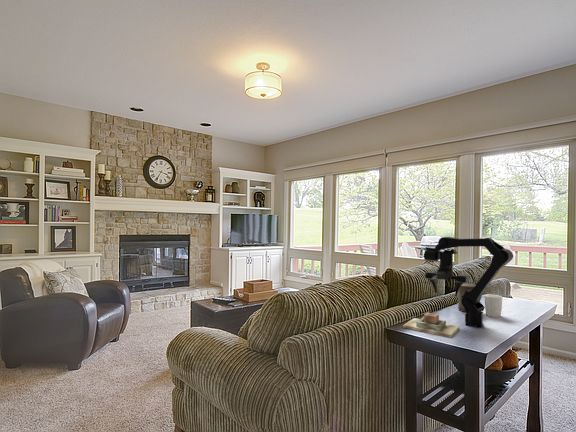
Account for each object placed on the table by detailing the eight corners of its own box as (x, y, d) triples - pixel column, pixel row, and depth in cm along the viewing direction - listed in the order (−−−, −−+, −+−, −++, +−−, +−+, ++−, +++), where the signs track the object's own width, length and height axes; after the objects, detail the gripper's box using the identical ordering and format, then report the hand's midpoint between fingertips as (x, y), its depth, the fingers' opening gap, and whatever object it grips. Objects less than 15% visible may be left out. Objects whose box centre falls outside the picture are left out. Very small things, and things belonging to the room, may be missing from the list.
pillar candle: (481, 313, 182) (481, 284, 183) (460, 312, 184) (461, 283, 184) (475, 308, 192) (475, 281, 192) (455, 307, 194) (456, 280, 194)
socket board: (459, 329, 157) (459, 322, 157) (450, 337, 146) (451, 329, 146) (414, 320, 169) (414, 313, 169) (403, 327, 158) (403, 320, 158)
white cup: (480, 314, 181) (480, 294, 181) (491, 312, 184) (492, 293, 184) (494, 318, 174) (494, 298, 174) (506, 316, 177) (506, 296, 177)
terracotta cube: (438, 325, 158) (438, 314, 158) (435, 328, 154) (435, 316, 154) (427, 323, 161) (427, 312, 161) (423, 325, 157) (423, 314, 157)
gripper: (421, 262, 172) (421, 294, 172) (463, 266, 160) (462, 300, 160) (428, 260, 181) (428, 290, 181) (468, 263, 169) (468, 296, 169)
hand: (446, 294), depth 173 cm, fingers open, 9 cm apart
